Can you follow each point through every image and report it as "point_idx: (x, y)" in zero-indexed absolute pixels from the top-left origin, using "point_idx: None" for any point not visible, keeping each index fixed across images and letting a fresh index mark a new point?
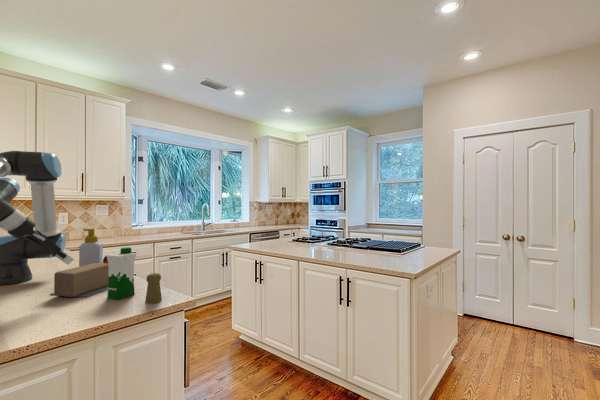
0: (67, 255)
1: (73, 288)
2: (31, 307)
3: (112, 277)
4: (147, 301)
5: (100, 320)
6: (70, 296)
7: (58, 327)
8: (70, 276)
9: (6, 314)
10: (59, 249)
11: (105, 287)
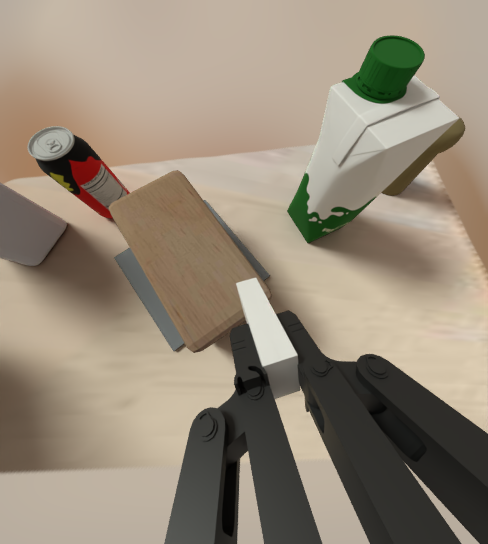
0: (270, 306)
1: None
2: None
3: (365, 205)
4: (401, 191)
5: (463, 280)
6: None
7: (470, 351)
8: None
9: (301, 458)
10: (390, 375)
11: None
